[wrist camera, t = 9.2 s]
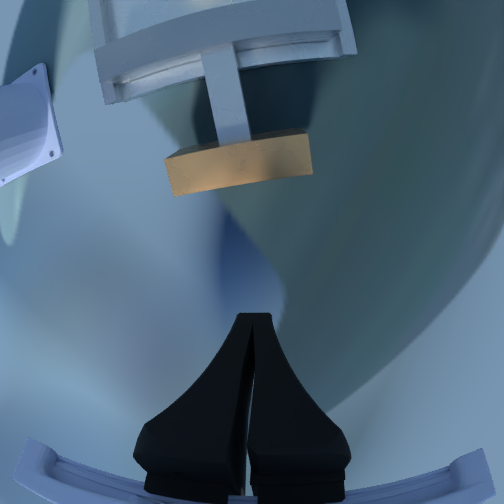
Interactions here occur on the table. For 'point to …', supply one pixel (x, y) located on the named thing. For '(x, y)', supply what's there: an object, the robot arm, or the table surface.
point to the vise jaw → (225, 85)
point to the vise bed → (183, 3)
